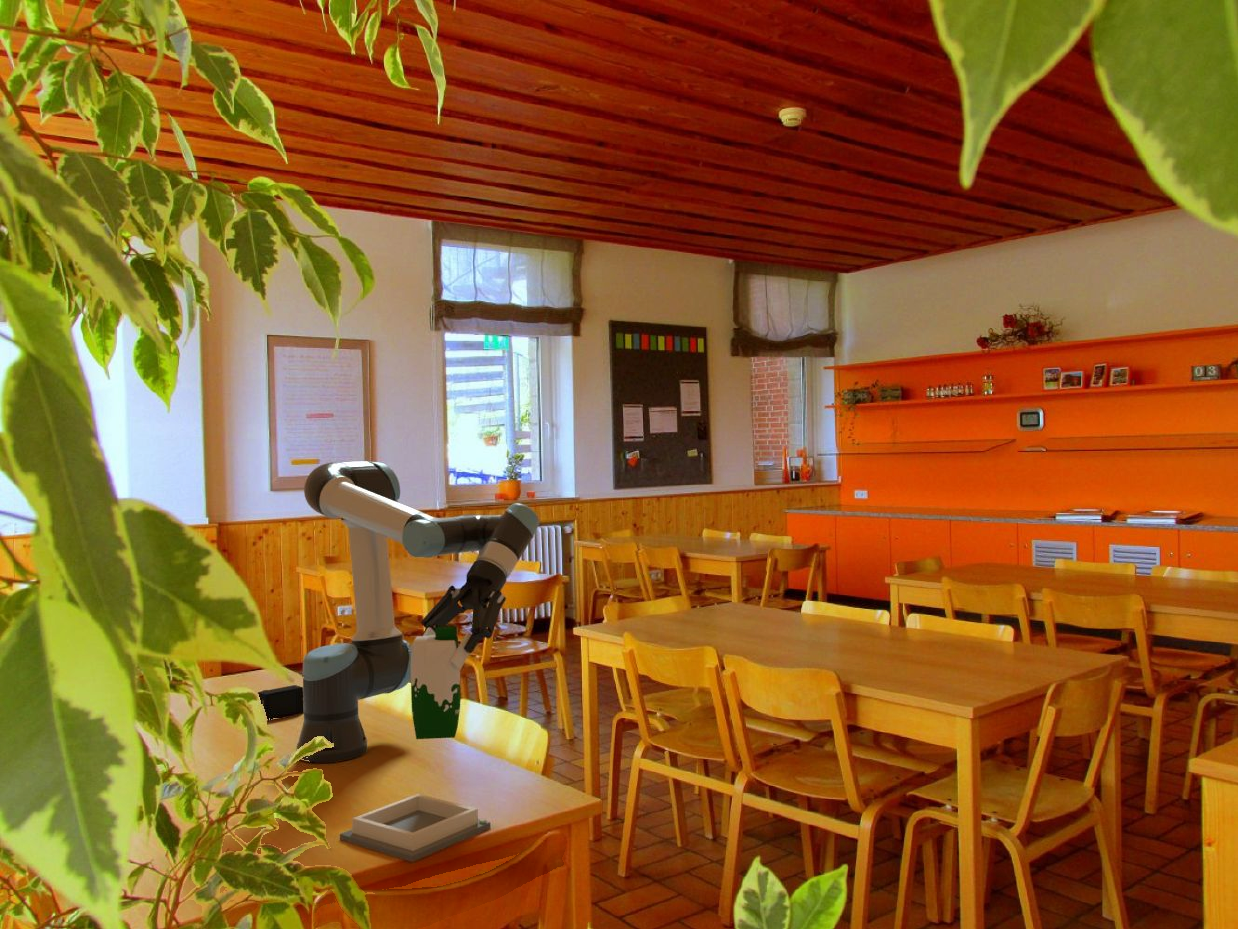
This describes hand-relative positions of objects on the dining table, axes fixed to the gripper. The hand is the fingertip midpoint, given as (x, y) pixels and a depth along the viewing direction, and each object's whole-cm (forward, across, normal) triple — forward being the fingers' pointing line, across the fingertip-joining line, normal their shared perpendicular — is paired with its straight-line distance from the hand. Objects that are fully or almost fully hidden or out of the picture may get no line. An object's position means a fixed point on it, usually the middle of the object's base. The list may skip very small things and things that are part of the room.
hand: (435, 662), depth 193 cm
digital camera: (+1, +84, -37) cm, 92 cm away
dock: (+28, -9, -9) cm, 31 cm away
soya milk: (+10, 0, -10) cm, 14 cm away
